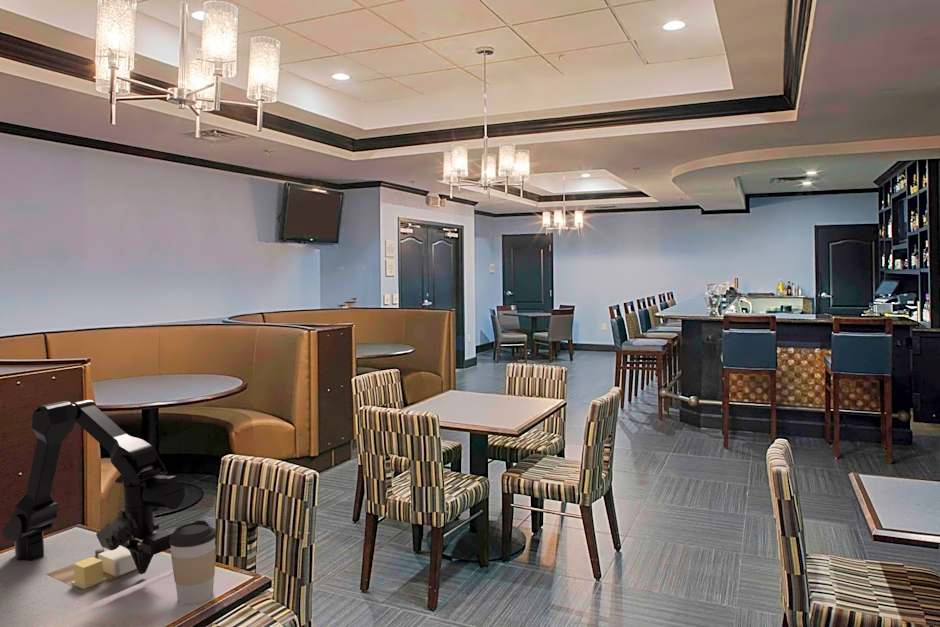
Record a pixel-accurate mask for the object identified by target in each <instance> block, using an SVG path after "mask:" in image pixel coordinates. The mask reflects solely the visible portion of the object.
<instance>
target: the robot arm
mask: <svg viewBox="0 0 940 627" xmlns="http://www.w3.org/2000/svg"><path fill="white" fill-rule="evenodd" d="M31 422H32V423H31V430H32V431H33V433H34V435H35V436H36V439H37V440H36V444H35V445H36V446H35V450H34V454H33V458H32V464H31V469H30V473H29V478H28V481H27V482H28V483H27V486H26V492H25V494H24V495H23V496H22V497H21V498H20V499H19V501H18V502H16V504H15V507H14V509H13V512H12V515H11V518H10V519H9V521H8V522H7V523H6V525H5V526H4V527H3V529H2V530H1V531H2V535H3V539H4V540H7V541H13V542H14V554H15V560H16V561H23V562H24V561H29V562H30V561H31V562H33V561H35V560H38V559H41V558H44V556H45V544H44V543H45V542H44V541H45V540H44V531H47V530H51V529H53V524H54V521H55V519H56V518H58V510H59V507H60V505H59V503H58V502H56V501H55V499H54V498H53V496H52V490H53V486H54V483H55V477H56V472H57V468H58V463H59V460H60V455H61V450H62V445H63V442H64V440H65V439H66V437H68V435H69V434H70V433H71V432H72V431H73V429H74V426H75V425H76V424H75V423H77V425H79V426H80V427H81V428H82V429H83V430H84V431H85V432H87V434H89V435H90V436H91V437H92V438H93V439H94V440H95V441H96V442H97V443H99V444H100V445H101V446H102V447H103V448H104V449H105V450H106V451H107V452H108V453H109V457H110V462H111V464H112V466H113V467H114V468H115V469H116V470H117V472H119V474H120V475H119V476H118V477H117V478H116V479H115V483H116V484H122V489H123V490H122V492H123V509H119V512H118V519H116V520H115V521H112V522H108V523H107V524H106V526H104V527H103V528H102V529H101V530H99V531H97V533H96V538H97V540H98V541H99V544H100V545H101V547H102V549H107V550H115V549H117V548H118V547H119V546H122V547H124V548H126V549H128V550H129V551H130V553H131V555H132V558H133V560H134V563H135V565H136V567H137V570H138V571H137V572H138V574H139V575H143V574H145V573H146V572H147V570H148V568H149V566H150V564H151V561H152V559H153V556H154V555H157V554H159V553H162V552H164V551H167V550H169V549H170V550H171V545H170V544H169V540H170V535H171V534H172V533H173V532H172V531H169V530H166V529H162V530H160V524H159V523H156V522H155V512H157V511H159V508H160V509H163V510H164V509H165V510H171V511H172V510H176V509H178V508H179V506H181V505H182V503H183V501H184V499H185V495H186V490H185V488H184V485H183V484H182V483H181V482H180V481H178V480H177V479H178V477H177V475H166V474H168V472H169V471H168V470H167V468H166V465H165V464H164V463H163V462H162V459H161V458H160V456H159V455H158V453H157V450H156V448H155V447H154V445H152V444H150V443H149V442H147V441H146V440H144V439H142V438H139V437H135V436H131V435H130V434H128V433H127V432H126V431H124V430H123V429H122V428H121V427H119V425H117V423H115V422H114V421H113V420H112V419H111V418H110V417H109V416H107V415H106V414H105V413H104V412H103V411H101V409H100V408H99V407H98V406H97V404H96V402H95V401H94V400H92V399H83V400H79V401H78V400H77V401H74V402H71V401H68V400H63V401H58V402H54V403H49V404H43V405H40V406H38V407H36V408H35V409H34V410H33V414H32V420H31ZM151 469H152V470H151ZM145 471H146V472H145ZM156 530H160V531H158V532H157V531H156Z"/></svg>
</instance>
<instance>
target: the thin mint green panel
mask: <svg viewBox="0 0 940 627" xmlns="http://www.w3.org/2000/svg"><path fill="white" fill-rule="evenodd" d="M103 578H104V579H101V580H99V581H96V582H94V583H91V584H89V585H86V586H83V585H81V584H79V583H77V582H75V581H73V582H71V584H74V585H76V586H78V587H80V588H82V589H85V588H88V587H90V586H93V585H95V584H98V583H100V582H102V581H105V580H107V578H105V577H103Z"/></svg>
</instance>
